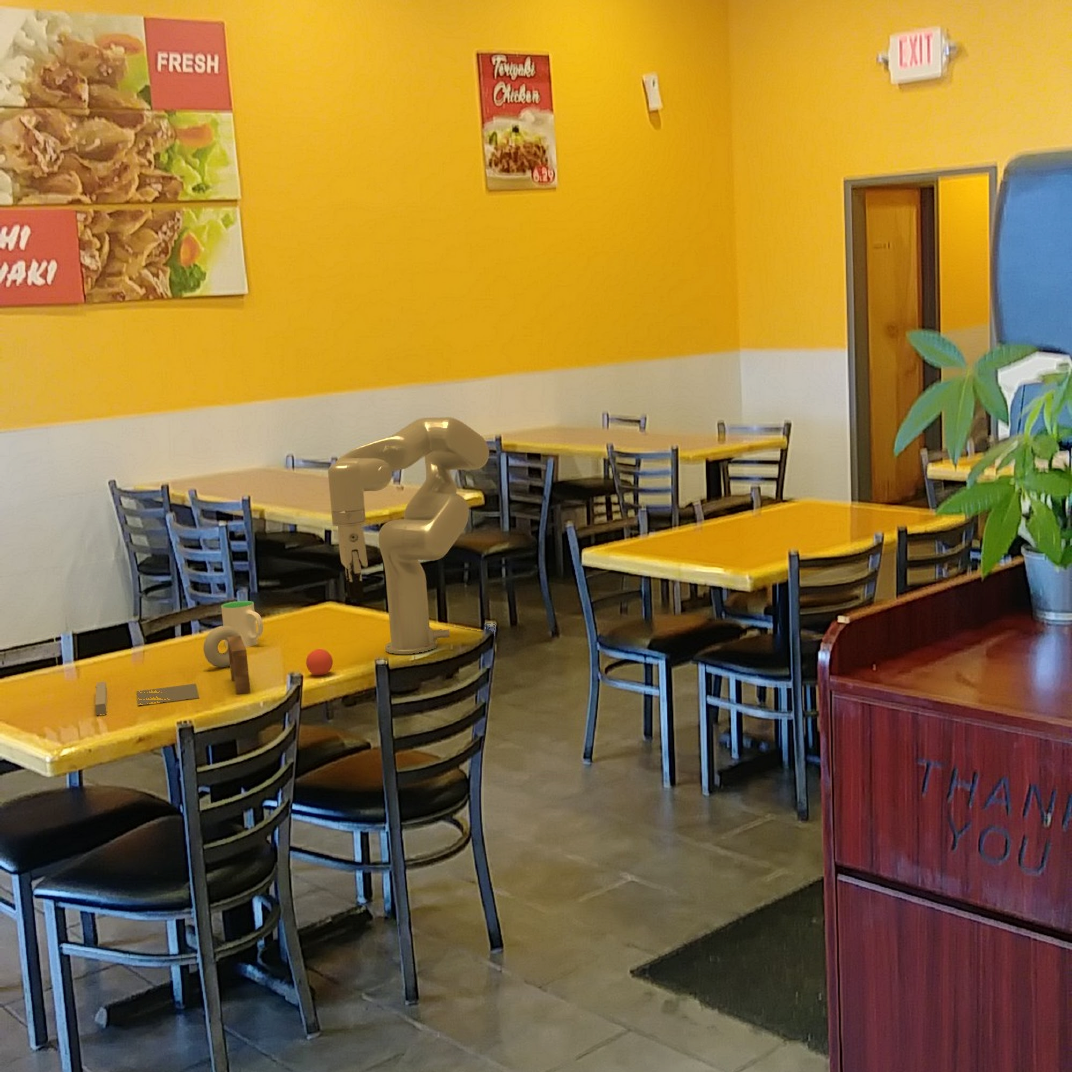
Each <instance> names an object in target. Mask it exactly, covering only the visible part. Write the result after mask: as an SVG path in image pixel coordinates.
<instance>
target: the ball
mask: <svg viewBox="0 0 1072 1072" xmlns="http://www.w3.org/2000/svg"><path fill="white" fill-rule="evenodd" d="M333 661H334V660H333V657H332V654H330V652H328V650H325V649H323V648H317V649H314V650H312V651H310V652H309V654H308V655H307V657H306V661H305V665H306V667H307V670H308V671H309V672H310V673H311V674H313V676H323V675H324V676H325V675H326V674H327V673H328V672H330V671H331V669H332V667H333V663H334V662H333Z"/></svg>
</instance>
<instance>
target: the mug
mask: <svg viewBox="0 0 1072 1072" xmlns="http://www.w3.org/2000/svg"><path fill="white" fill-rule="evenodd" d="M220 607H221V616H222V626H229V627H232V628H234V629H235V630H236V631H238V633H239V635H240V636H241V638H242V641H243V643H244V646H245V648H250V647H253V646H256V645H257V644H258V643H259V642H258V638H259V637H261V636H262V635H263V631H264V621H263V618H262V617H261V615H260V614H259V613H258V612H256V611H255V603H254V601H252V600H251V601H250V600H239V601H231V602H226V603H223V604H221V606H220ZM256 624H257V625H256ZM224 646H227V647H228V642H227V641H226V640H224ZM227 647H226V648H227Z"/></svg>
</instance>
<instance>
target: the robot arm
mask: <svg viewBox="0 0 1072 1072" xmlns="http://www.w3.org/2000/svg"><path fill="white" fill-rule="evenodd" d="M489 457H490V449H489V445H488V443H487V441H486V440H485V438H484V437H483V436H482V435H481V434H479V433H478V432H477V431H475V430H474V429H472V428H471V427H470V426H469V425H467V424H466V423H464V422H463V421H461V420H459V419H457V418H454V417H450V416H447V417H444V416H443V417H422V418H419V419H416V420H414V421H412V422H411V423H409V424H408V425H405V427H403V428H401V429H400V430H398V431H397V432H395V433H394V434H392V435H391V436H388V437H385V438H382V439H379V440H375V441H374V442H373V441H372V442H371V443H367V444H364V445H362V446H359V447H355V448H354V449H352V450H349V451H348V452H346V453H345V454H343V455H342V456H341V457H339V458H337V459H336V461H335V462H334V463H333V464H331V465H330V466H329V467H328V470H327V475H328V488H329V489H328V490H329V497H330V498H329V499H330V508H331V509H330V511H331V520H332V523H331V524H332V526H333V527H337V535H338V549H339V556H340V562H341V565H342V566H343V567H344V568H345V570H344V571H345V578H346V579H345V584H346V585H345V586H346V587H345V588H346V595H347V597H348V598H349V600H358V599H359V600H360V599H364V597H365V595H364V593H365V592H364V583H363V581H364V580H363V577H362V576H363V575H362V567H364V568H367V567H368V565H369V564H368V563H369V562H368V556H367V555H368V554H367V547H366V541H365V533H364V527H363V525H364V524H366V523H367V520H366V510H365V509H366V508H365V496H364V493H365V492H377V491H381V490H383V489H385V488H387V487H388V485H389V484H390V482H391V480H392V476H393V474H392V472H397V471H401V470H405V469H407V468H410V467H412V466H413V465H414V464H416V463H417V462H419V461H420V460H421V459H423V458H424V465H425V475H426V477H425V481H424V482H423V484H422V485H421V486H420V488H419V489H418V490H417V492H415V494H414V495H413V496H412V497H411V499H410V500H409V502H408V503H407V505H406V507H405V509H404V513H403V518H402V519H400V518H399V519H393V520H390V521H387V522H385V523H384V524H383V525H382V526H381V527H380V529H379V532H378V538H377V539H378V540H377V541H378V546H379V549H380V554H381V557H382V560H383V567H384V572H385V573H384V574H385V581H386V583H385V584H386V596H387V606H388V608H387V609H388V618H389V628H390V629H389V630H390V631H389V632H390V642H387V644H385V646H384V650H385V652H387V653H388V652H389V654H392V653H394V654H393V655H413V653H415V654H420V653H419V652H422V653H425V652H424V651H427V652H429V651H428V650H430V651H432V650H431V649H433V650H435V649H436V648H437V647H438V639H446V638H450V637H451V634H450V629H448V628H447V629H441V628H439V629H433V628H432V627H431V626H430V616H429V602H428V592H427V591H428V590H427V579H426V578H427V576H426V573H425V570H424V568H423V566H422V564H421V563H420V561H437V560H440V559H442V558H444V557H445V556H446V554H448V552H449V550H450V549H451V548H452V547H453V546H454V544H455V543H456V541H457V540H458V538H459V537H460V536H461V534H462V533H463V531H464V530H465V528H466V526H467V524H468V521H469V517H470V513H469V512H470V510H469V504H468V502H467V500H466V499H465V498H464V497H463V496H462V495H460V494H459V493H457V492H458V491H457V490H458V489H457V486H456V483H455V480H454V479H453V477H452V476H451V475H452V474H451V471H450V470H453V471H454V470H455V471H456V470H457V471H459V470H466V471H467V470H471V471H472V470H479V469H481V468H483V467H484V466H485V465H486V464H487V462H488V460H489ZM361 566H362V567H361ZM436 646H437V647H436ZM435 647H436V648H435ZM434 648H435V649H434Z"/></svg>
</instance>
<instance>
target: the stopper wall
mask: <svg viewBox="0 0 1072 1072" xmlns="http://www.w3.org/2000/svg"><path fill="white" fill-rule="evenodd" d="M107 700H108V690H107V682H106V681H100V682H96V686H95V700H94V701H95V702H94V703H95V704H94V706H95V714H96V715H95V716H97V715H100V714H106V715H107V711H106V709H108V708H106V707H108V706H107V704H108V703H107V702H108V701H107Z"/></svg>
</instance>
